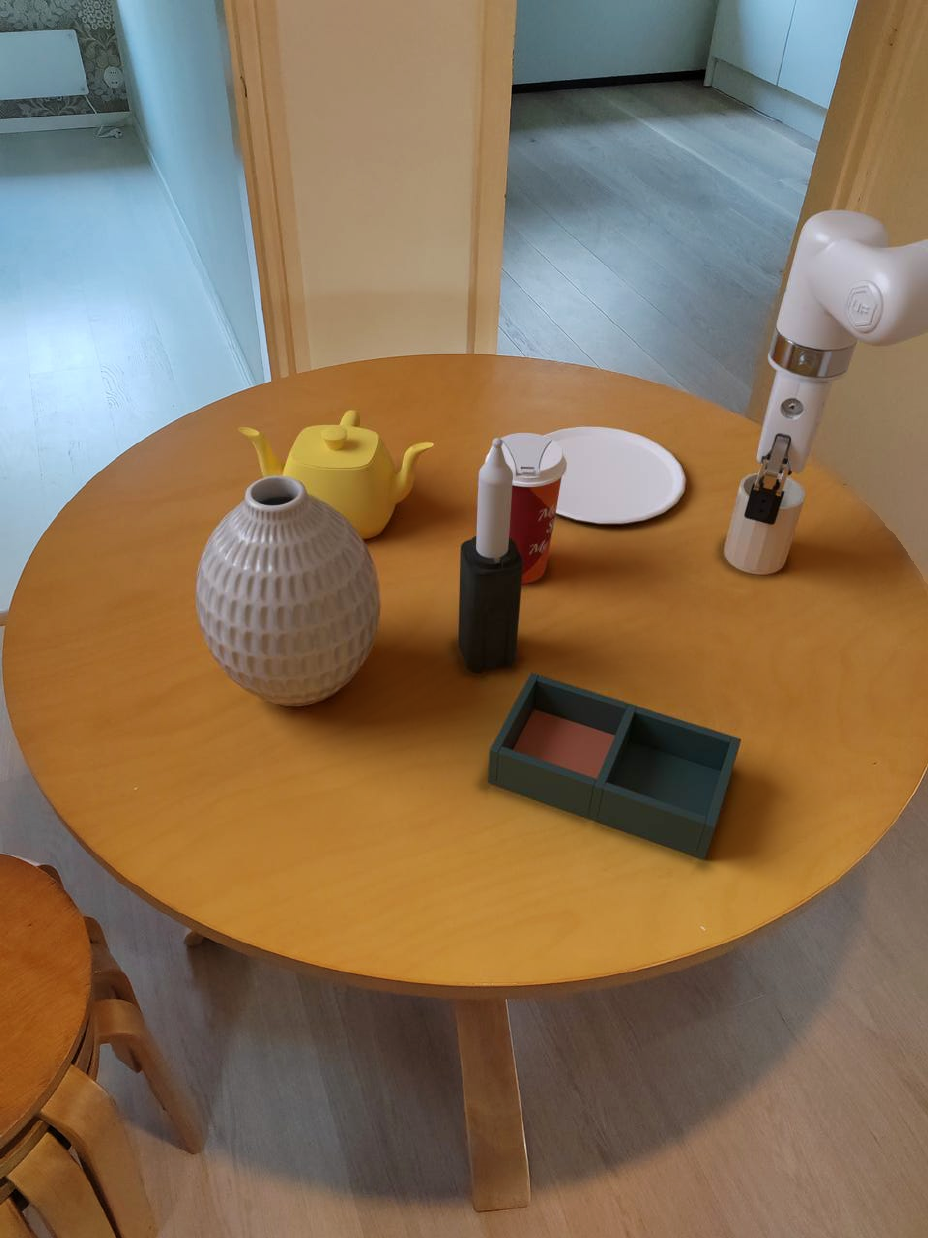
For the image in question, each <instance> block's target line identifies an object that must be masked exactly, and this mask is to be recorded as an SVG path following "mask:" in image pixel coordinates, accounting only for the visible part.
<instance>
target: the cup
mask: <svg viewBox="0 0 928 1238" xmlns="http://www.w3.org/2000/svg"><path fill="white" fill-rule="evenodd" d="M758 473H759V471H757V472H752V473H749V474H748V475H746V476H745V477H742V479H741V481H740V484H739V487H738V491H737V496H736V498H735V503H734V506H733V511H732V515H731V518H730V522H729V526H728V531H727V535H726V539H725V542H724V548H723V555H724V558H725V559H726V561H728V563H729V564H730V565H731V566H733V567H734V568H735V569H737V570H739V571H742V572H744V573H747V574H752V575H758V576H762V575H764V576H765V575H772V574H774V573H777V572H779V571H780V570H782V568H783V567H784V566H785V564H786V561H787V558H788V555H789V551H790V548H791V545H792V542H793V538H794V535H795V532H796V529H797V526H798V522H799V519H800V516H801V513H802V509H803V506H804V503H805V500H806V497H807V494H806V491H805V488H804V486H803V485H802V484H800V483H799V482H798V481H797V480H796V479H794V478H792V477H790V476H789V475H787V478H786V481H785V484H784V487H783V490H782V491H784V492H785V493H784V496H783V499H782V502H781V505H780V509H779V512H778V515H777V518H776V521H775V524H773V525H770V524H766V523H762V522H759V521H755V520H751V519H747V518H745V516H744V514H745V510H746V507H747V503H748V500H749V496H750V492H751V489H752V485H753V484H755V483H756V479H757V476H758ZM764 475H765V473H764ZM781 476H782V474H781V473H779V475H778V478H777V479H779V481H780V479H781Z"/></svg>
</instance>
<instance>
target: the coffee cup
mask: <svg viewBox="0 0 928 1238" xmlns="http://www.w3.org/2000/svg"><path fill="white" fill-rule="evenodd" d="M499 438H500V439H501V440H502V442H503V444H502V446H501V447H502V451H503V454H504V458H505V461H506V463H507V464H508V466H509V467H510V468H511V470H512V472H513V482H512V498H511V513H510V528H509V537H510V538H511V539H512V540H513V541H514V542H515V543H516V545H517V549H518V551H519V553H520V555H521V557H522V559H523V574H522V585H527V584H531V583H534V582H536V581H539V579H540V578H542V577H543V575H544V574H545V571H546V567H547V563H548V558H549V553H550V547H551V542H552V537H553V531H554V526H555V518H556V515H557V514H556V508H557V502H558V496H559V490H560V484H561V478H562V476H563V475H564V473H565V471H566V468H567V463H566V460H565V458H564V456H563V451H562V449H561V447H560V446H559V445H558V443H556V442H555V441H554V440H553V441H552V439H550V438H547V437H545V436H543V435H542V434H538V433H533V432H515V433H511V434H508V435H505V436H502V437H499ZM492 449H493V444H492V445H491V447H490V450H489V452H488V453H487V455H486V456H485V461H484V464H485V463H486V462H487V461H488V458H489V456H490V454H491V451H492Z"/></svg>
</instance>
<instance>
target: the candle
mask: <svg viewBox="0 0 928 1238" xmlns="http://www.w3.org/2000/svg"><path fill="white" fill-rule="evenodd" d="M500 438H501V437H495V438H494V439H493V440H492V445H493V449H492V451H491V454H490V456H489V458H488V461H487V462H486V463H485V462H484V464H483V465H482V466H481V467H480V469H479V471H478V485H477V486H478V487H477V488H478V489H477V511H476V512H477V514H476V517H477V519H476V535H475V536H473V537H472V538H470V539H467V540H464V542H462V544H461V545H460V553H459V556H460V557H459V593H458V594H459V596H458V597H459V598H458V599H459V601H458V641H457V643H458V644H457V647H458V649H459V653H460V654H461V655H460V656H461V658H462V660H463V662H464V665H465V667H466V669H467V670H468V671H469V672H472V673H475V674H481V673H483V672H484V671H489V670H495V669H500V668H505V669H507V668H510V667H512V666H514V665H515V663H516V659H517V649H518V648H517V647H518V636H519V635H518V634H519V622H520V611H521V610H520V608H521V597H522V596H521V595H522V585H523V584H522V574H523V559H522V557H521V555H520V553H519V551H518V549H517V545H516V543H515V542H514V541H513V540H512V539H511V538H510V537H509V528H510V513H511V498H512V482H513V472H512V470H511V468H510V467H509V466H508V464H507V463H506V461H505V458H504V454H503V451H502V447H501V446H502V444H503V442H502V440H501V439H500Z"/></svg>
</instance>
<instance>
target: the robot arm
mask: <svg viewBox="0 0 928 1238" xmlns="http://www.w3.org/2000/svg"><path fill="white" fill-rule="evenodd" d="M889 244H890V236H889V231H888V229H887V227H886V226H885V225H884V224H883V222H881V221H880V220H879V219H877V218H875V217H874V216H871V215H869V214H867V213H864V212H863V213H862V212H859V211H854V210H849V209H830V210H829V209H828V210H824V211H823V210H822V211H820V212H818V213H814V215H812V216H810V218H808V219H807V220H806V221H805V223H804V225H803V227H802V229H801V231H800V234H799V237H798V241H797V245H796V248H795V252H794V257H793V260H792V264H791V267H790V271H789V275H788V279H787V283H786V286H785V289H784V294H783V298H782V301H781V305H780V309H779V313H778V317H777V320H776V324H775V327H774V332H773V336H772V339H771V343H770V347H769V351H768V355H767V361H768V363H769V365H770V366H771V367H772V368H773V369H774V370H775V371H776V373H775V375H774V379H773V383H772V388H771V391H770V394H769V395H770V396H769V399H768V403H767V407H766V411H765V415H764V418H763V423H762V428H761V432H760V437H759V442H758V448H757V452H756V453H757V454H756V457H755V458H756V461H757V463H758V464H759V465H760V467H759V471H758V472H759V473H758V476H757V479H756V483H755V484H753V485H752V489H751V492H750V496H749V500H748V503H747V507H746V510H745V514H744V516H745V518H747V519H751V520H755V521H759V522H762V523H766V524H770V525H773V524H775V521H776V518H777V515H778V512H779V509H780V505H781V502H782V499H783V496H784V493H785V492H784V491H782V490H783V487H784V484H785V481H786V478H787V476H791V475H792V473H796V474H797V475H799V474H801V473H803V472H804V471H805V470H806V467H807V464H808V461H809V459H810V455H811V452H812V449H813V447H814V443H815V440H816V437H817V434H818V430H819V428H820V426H821V422H822V419H823V416H824V412H825V410H826V408H827V407H826V406H827V404H828V400H829V397H830V393H831V390H832V386H833V382H835V381H838V380H841V379H842V378H844V376H845V375H847V373H848V371H849V367H850V364H851V361H852V358H853V355H854V352H855V349H856V345H857V343H858V341H859V342H862V343H864V344H866V345H869V346H872V347H889V346H893V345H897V344H900V343H902V342H906V341H908V340H911V339H913V338H917V337H920V336H923V335H924V334H927V333H928V238H925V239H922V240H919V241H915V242H911V243H909V244H905V245H901V246H891V247H889ZM764 473H765V475H764ZM779 474H782V476H781V479H780V481H779V479H777V478H778V475H779Z"/></svg>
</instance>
